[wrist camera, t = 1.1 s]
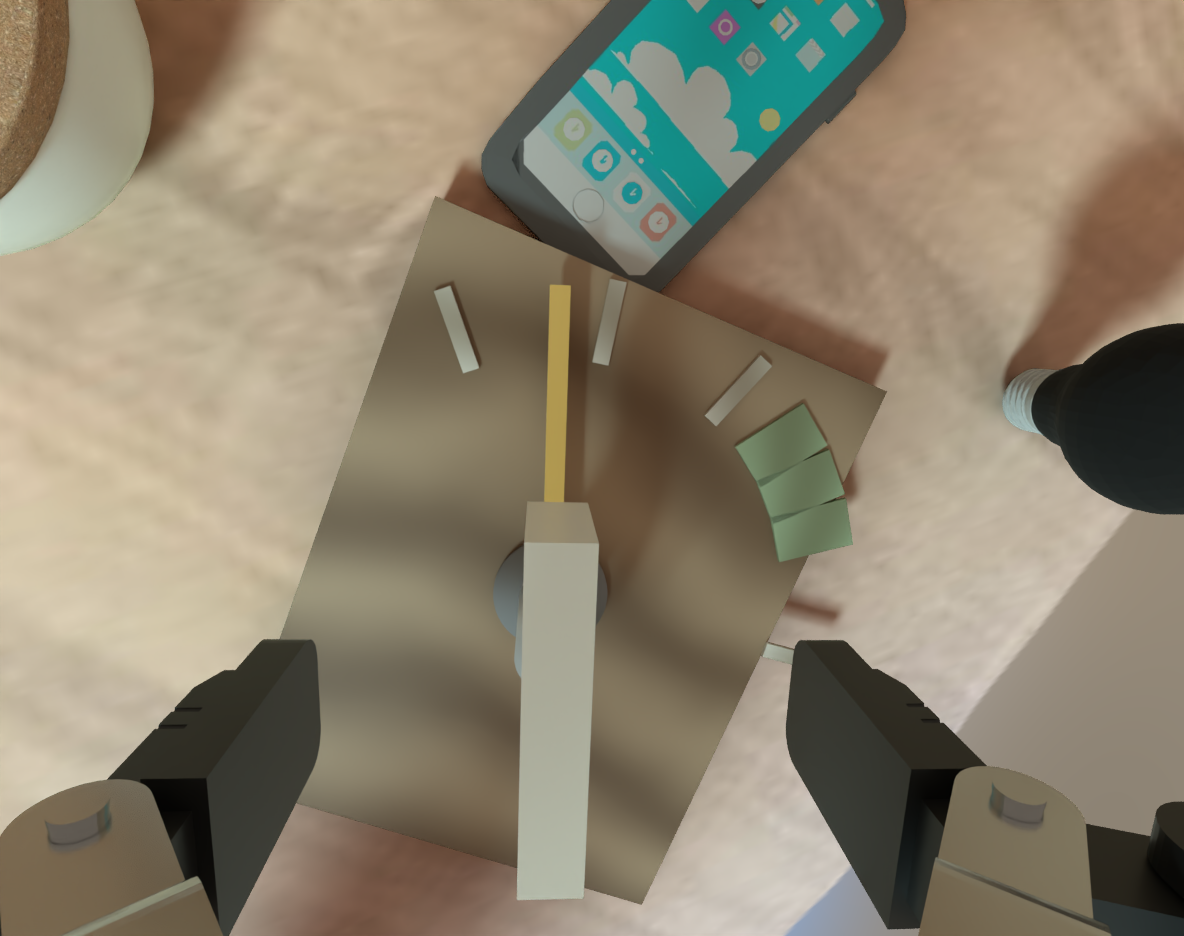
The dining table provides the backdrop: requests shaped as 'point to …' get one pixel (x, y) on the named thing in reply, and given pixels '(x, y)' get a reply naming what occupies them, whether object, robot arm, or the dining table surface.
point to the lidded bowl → (68, 113)
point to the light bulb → (1115, 417)
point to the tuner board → (497, 530)
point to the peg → (555, 656)
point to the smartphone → (677, 121)
